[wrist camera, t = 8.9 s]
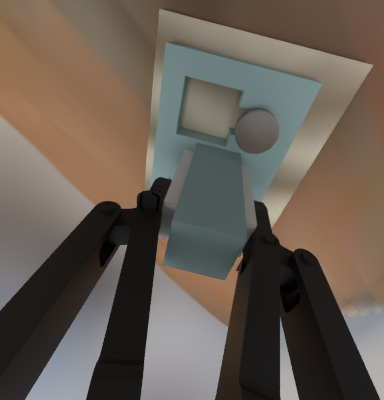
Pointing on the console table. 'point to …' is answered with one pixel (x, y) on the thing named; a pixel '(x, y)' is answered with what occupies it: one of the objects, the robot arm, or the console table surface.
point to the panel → (252, 96)
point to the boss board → (225, 99)
